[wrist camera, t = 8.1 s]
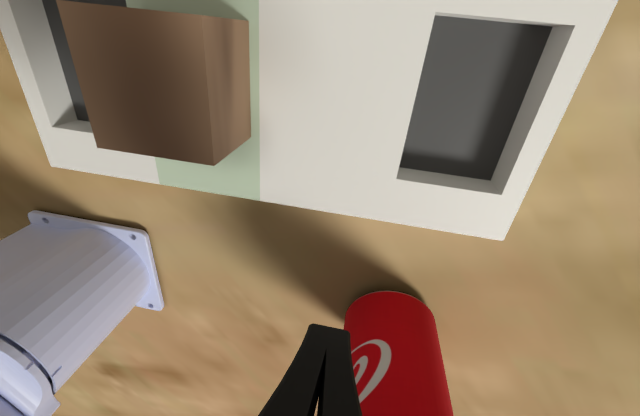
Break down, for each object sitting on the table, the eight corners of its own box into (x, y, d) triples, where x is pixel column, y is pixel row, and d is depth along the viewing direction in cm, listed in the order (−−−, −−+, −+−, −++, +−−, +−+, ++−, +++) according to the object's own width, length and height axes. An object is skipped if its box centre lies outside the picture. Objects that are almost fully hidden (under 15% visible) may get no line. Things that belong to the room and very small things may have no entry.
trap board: (79, 155, 20) (50, 166, 18) (1, -92, 14) (-51, -110, 12) (491, 220, 18) (503, 241, 16) (607, -48, 12) (647, -62, 10)
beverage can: (332, 294, 22) (291, 515, 12) (416, 273, 20) (456, 520, 10) (365, 350, 25) (355, 576, 14) (444, 336, 23) (500, 590, 12)
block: (158, 123, 16) (97, 147, 12) (138, 9, 13) (55, -1, 10) (251, 137, 15) (214, 166, 12) (248, 21, 13) (201, 15, 9)
